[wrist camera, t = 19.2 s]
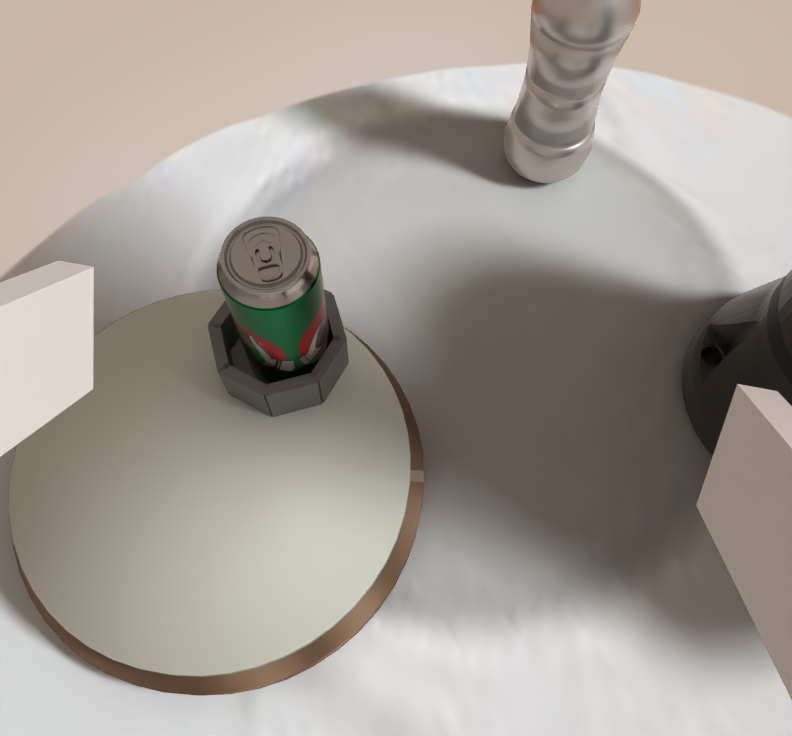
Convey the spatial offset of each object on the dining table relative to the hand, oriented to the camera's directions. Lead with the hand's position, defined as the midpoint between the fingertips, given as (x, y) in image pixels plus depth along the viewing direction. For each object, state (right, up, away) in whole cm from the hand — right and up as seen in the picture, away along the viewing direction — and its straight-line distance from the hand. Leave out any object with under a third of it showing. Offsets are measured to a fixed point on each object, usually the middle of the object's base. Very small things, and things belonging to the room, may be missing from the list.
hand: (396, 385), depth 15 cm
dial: (-10, -5, +31) cm, 33 cm away
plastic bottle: (+11, +16, +44) cm, 48 cm away
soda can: (-7, +1, +32) cm, 32 cm away
